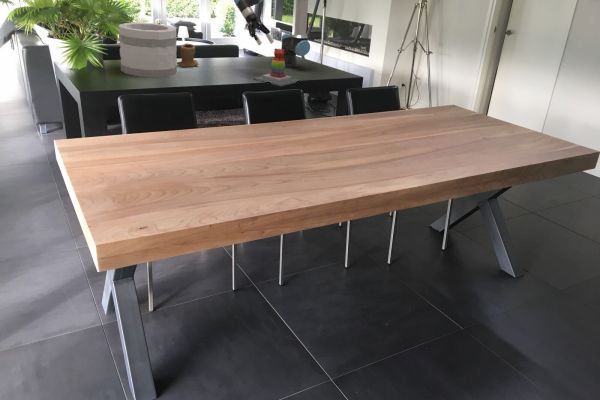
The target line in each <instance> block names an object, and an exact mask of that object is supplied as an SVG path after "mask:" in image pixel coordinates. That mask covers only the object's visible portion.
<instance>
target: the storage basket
mask: <svg viewBox="0 0 600 400" xmlns="http://www.w3.org/2000/svg"><path fill="white" fill-rule="evenodd" d="M118 30H119V31H118V32H119V33H118V42H119V45H120V48H119V56H120V71H121V72H122V73H124V74H126V75H129V76H130V75H131V76H135V77H144V78H165V77H171V76H175V75H176V74H177V70H178V66H177V65H178V64H177V62H178V60H177V53H178V52H177V50H178V49H177V29H176V27H174V26H170V25H166V24H159V23H151V22H147V23H146V22H125V23H120V24H118Z"/></svg>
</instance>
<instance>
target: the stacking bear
mask: <svg viewBox="0 0 600 400" xmlns="http://www.w3.org/2000/svg"><path fill="white" fill-rule="evenodd" d="M273 56H274V57H272V61H271V63H270V72H269V74H270V75H271V76H273V77H285V76H287V74H286V73H285V69H286V67H285V61H284V58H283V56H284V49H281V48H276V47H275V48H274V51H273Z"/></svg>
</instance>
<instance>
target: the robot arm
mask: <svg viewBox="0 0 600 400" xmlns="http://www.w3.org/2000/svg"><path fill="white" fill-rule="evenodd" d="M233 2H234V4H235V6H236V7H237V9H238V10H239V12H240V13H241V15H242V16H243V18H244V19H245V22H246V24H245V25H246V26H247V29H248V34H249V36H250V37H251V38H253V39H254V41H255V42H256V43H257V45H258V46H261V45H262V44H263V42H262V40H261V38H260V37H259V35H258V34H256V30H258V31H261V32H262V33H263V34H264V35H265V37H266V38H267V40H268V42H269V43H270V44H271V45H272V44H273V43H274V42H275V41H274V39H273V37H272V36H271V34H270V33H271V30H270V29H269V28H268V27H267V26H266V25H265V24H264V23H263V22H262V21H261V20H259V21H258V16H257V15H256V13H255V11H254V10H253V9H252V7H253V6H255V5H256V6H257V5H258V4H261V3H262V2H264V0H233ZM308 10H309V0H295V13H294V14H295V16H294V31H293V32H294V34H283V35H282V38H281V48H280V49H284V56H283V58H284V61H285V68H297V67H298V59H297V56H299V57H305V56H306V55H308V54H309V52H310V50H311V43H310V42H309V37H308V35H307V26H308V25H307V24H308V12H309V11H308Z"/></svg>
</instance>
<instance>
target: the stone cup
mask: <svg viewBox="0 0 600 400" xmlns="http://www.w3.org/2000/svg"><path fill="white" fill-rule="evenodd" d="M179 47H180V49H179V53H180V58H181V61H177V65H178V66H180V67H182V68H183V67H187V68H188V67H195V66H199V63H198V61H197V60H196V59H195V54H196V47H195V45H194V44H192V43H184V44H181V45H180V46H179Z"/></svg>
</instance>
